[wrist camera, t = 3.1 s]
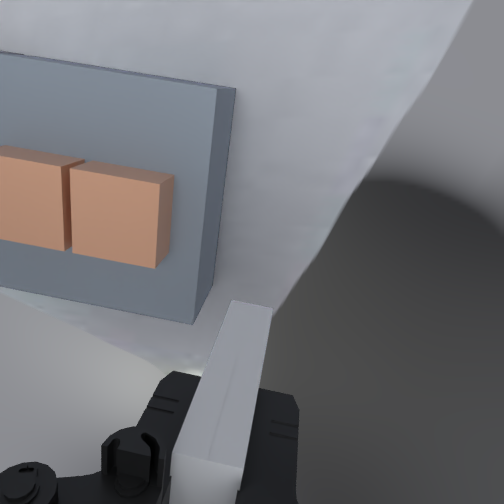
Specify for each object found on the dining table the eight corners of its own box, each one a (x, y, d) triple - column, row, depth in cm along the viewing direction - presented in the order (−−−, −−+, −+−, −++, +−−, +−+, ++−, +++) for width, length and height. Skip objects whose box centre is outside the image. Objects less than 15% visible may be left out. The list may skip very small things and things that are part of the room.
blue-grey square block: (49, 253, 34) (-2, 286, 28) (37, 56, 28) (-29, 49, 23) (212, 285, 33) (192, 324, 27) (235, 88, 27) (217, 88, 22)
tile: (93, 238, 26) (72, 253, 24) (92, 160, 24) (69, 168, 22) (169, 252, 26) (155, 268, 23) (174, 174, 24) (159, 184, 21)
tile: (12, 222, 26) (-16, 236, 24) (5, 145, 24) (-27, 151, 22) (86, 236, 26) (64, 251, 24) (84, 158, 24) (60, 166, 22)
